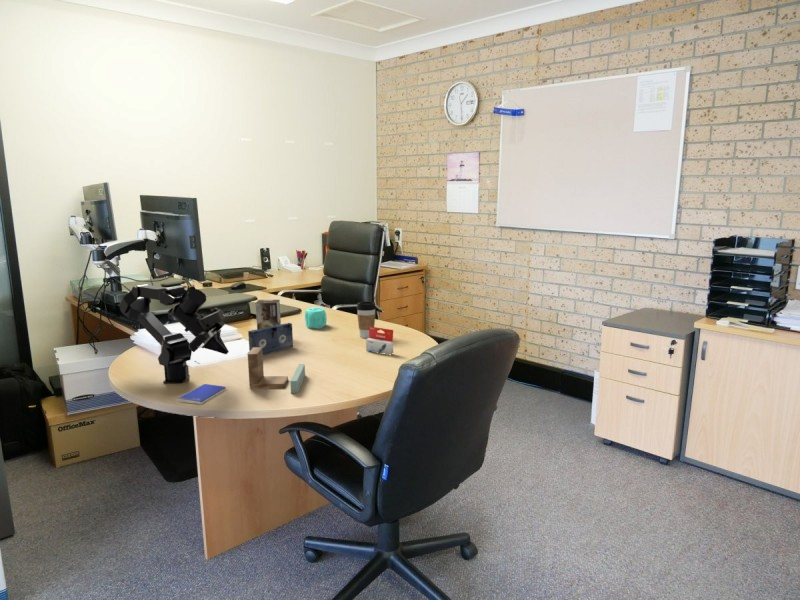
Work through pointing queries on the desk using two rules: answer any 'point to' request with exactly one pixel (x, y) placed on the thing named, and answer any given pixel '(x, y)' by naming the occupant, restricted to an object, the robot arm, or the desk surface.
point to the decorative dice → (315, 318)
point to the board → (297, 378)
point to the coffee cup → (365, 317)
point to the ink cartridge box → (380, 340)
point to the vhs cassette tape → (272, 338)
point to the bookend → (262, 372)
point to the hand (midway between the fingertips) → (227, 353)
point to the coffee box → (267, 313)
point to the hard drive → (202, 394)
